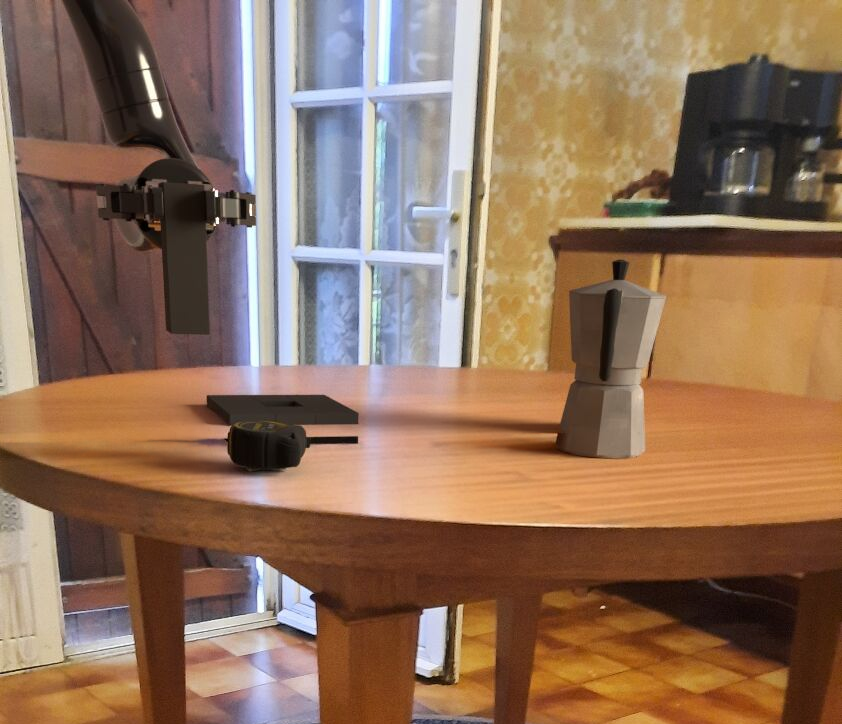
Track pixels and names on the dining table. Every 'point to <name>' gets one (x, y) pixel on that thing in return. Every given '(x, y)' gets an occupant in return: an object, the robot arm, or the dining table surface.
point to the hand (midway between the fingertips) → (185, 204)
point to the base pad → (286, 412)
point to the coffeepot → (609, 367)
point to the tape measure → (266, 445)
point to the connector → (185, 259)
